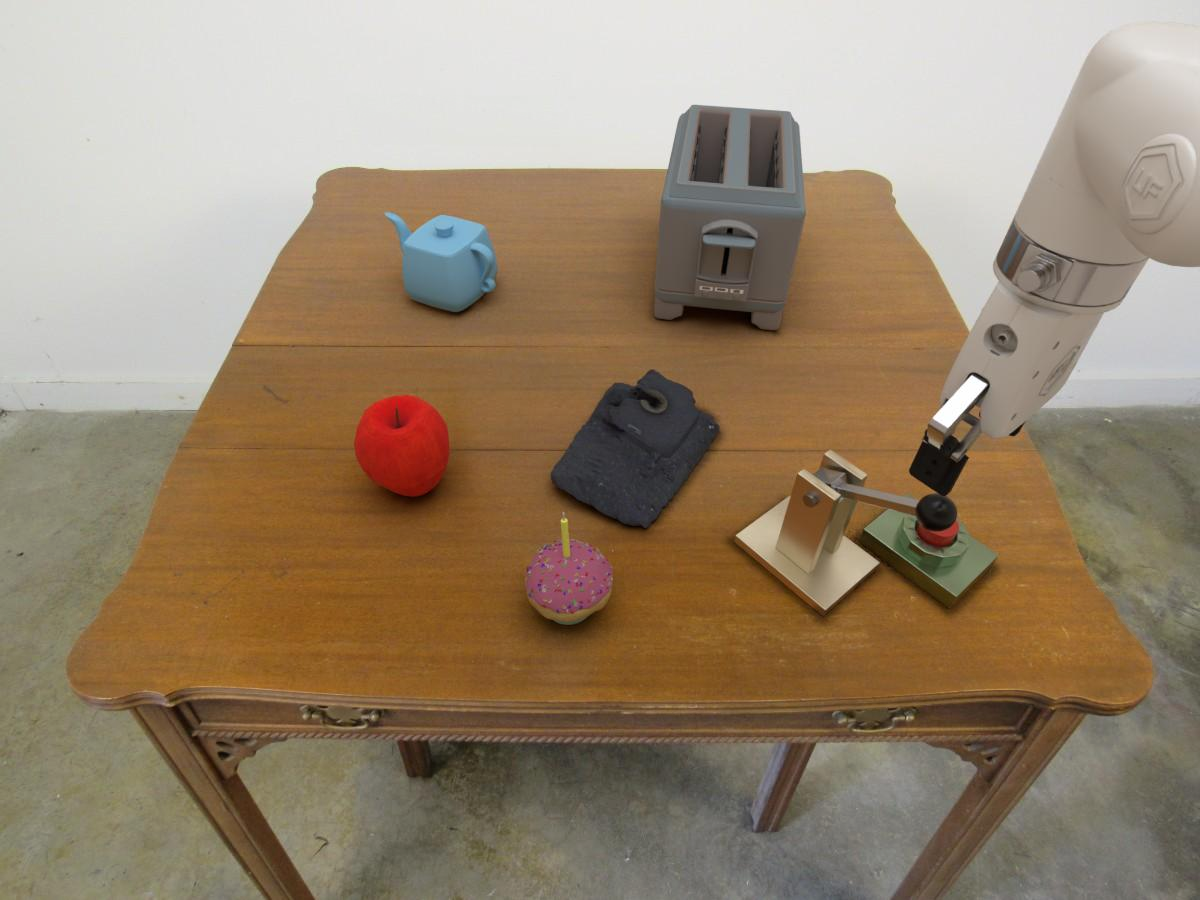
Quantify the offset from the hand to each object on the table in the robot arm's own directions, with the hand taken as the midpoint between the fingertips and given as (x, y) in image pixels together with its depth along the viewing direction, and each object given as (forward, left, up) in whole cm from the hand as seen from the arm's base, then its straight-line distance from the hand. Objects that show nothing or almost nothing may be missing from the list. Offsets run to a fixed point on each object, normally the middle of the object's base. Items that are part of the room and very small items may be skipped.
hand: (963, 453), depth 57 cm
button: (+1, -10, -19) cm, 22 cm away
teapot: (+76, +3, -23) cm, 80 cm away
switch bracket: (+9, 0, -23) cm, 25 cm away
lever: (+4, 0, -11) cm, 11 cm away
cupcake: (+20, +23, -23) cm, 39 cm away
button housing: (+1, -10, -23) cm, 25 cm away
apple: (+44, +27, -23) cm, 57 cm away
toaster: (+52, -32, -23) cm, 66 cm away
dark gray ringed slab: (+32, +4, -23) cm, 40 cm away
